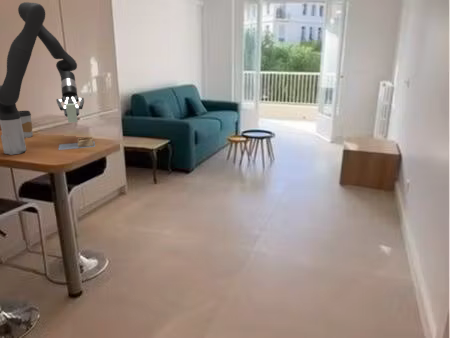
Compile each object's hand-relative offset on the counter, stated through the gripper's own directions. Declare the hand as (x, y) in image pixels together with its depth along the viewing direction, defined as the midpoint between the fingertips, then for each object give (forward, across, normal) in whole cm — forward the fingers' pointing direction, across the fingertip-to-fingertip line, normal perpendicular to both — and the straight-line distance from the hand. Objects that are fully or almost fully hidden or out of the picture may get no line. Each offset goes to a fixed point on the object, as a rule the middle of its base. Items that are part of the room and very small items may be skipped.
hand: (72, 115), depth 191 cm
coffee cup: (-15, -28, +40) cm, 51 cm away
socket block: (+11, +5, +13) cm, 17 cm away
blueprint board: (+11, 0, +13) cm, 17 cm away
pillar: (+1, 0, +4) cm, 4 cm away
